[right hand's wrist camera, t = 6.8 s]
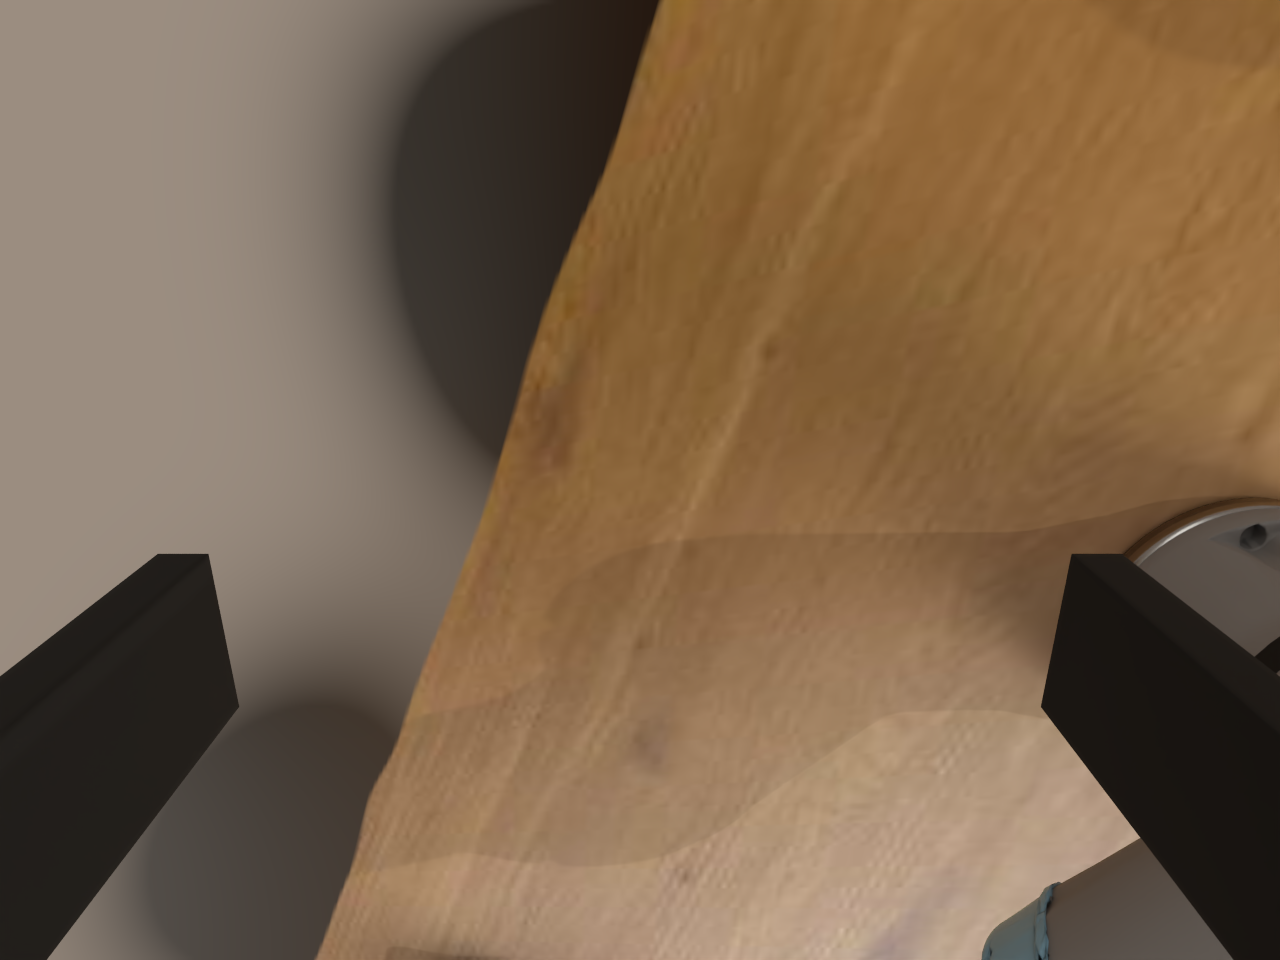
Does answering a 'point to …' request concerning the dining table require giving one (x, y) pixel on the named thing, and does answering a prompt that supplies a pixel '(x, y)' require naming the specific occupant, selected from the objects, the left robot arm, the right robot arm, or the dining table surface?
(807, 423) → the dining table surface
